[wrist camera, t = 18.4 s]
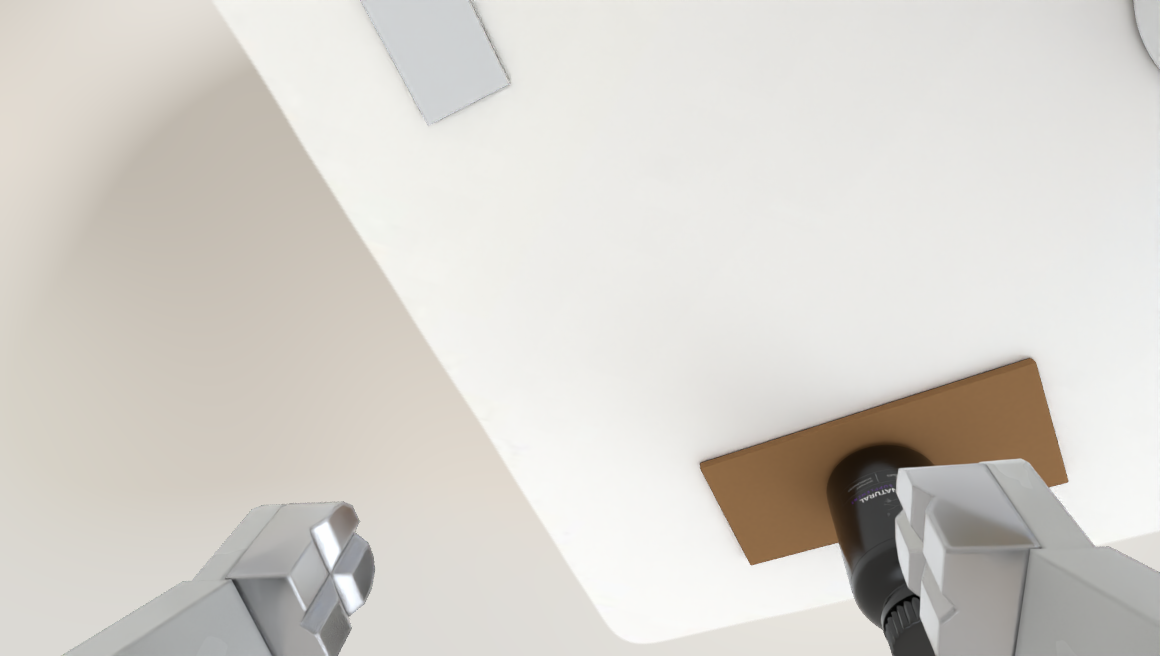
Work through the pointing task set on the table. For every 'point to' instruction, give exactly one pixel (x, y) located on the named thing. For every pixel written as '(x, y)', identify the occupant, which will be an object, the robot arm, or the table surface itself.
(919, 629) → the supplement bottle
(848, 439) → the cork mat
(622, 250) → the table surface
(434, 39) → the nameplate
